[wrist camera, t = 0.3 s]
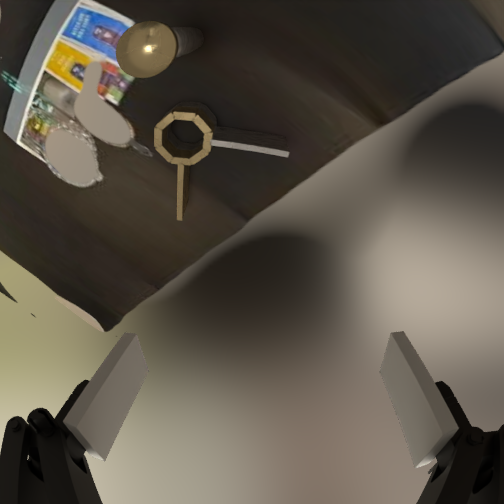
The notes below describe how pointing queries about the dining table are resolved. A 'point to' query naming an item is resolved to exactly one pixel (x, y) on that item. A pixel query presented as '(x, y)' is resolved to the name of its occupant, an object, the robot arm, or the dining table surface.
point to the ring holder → (206, 143)
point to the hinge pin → (154, 47)
